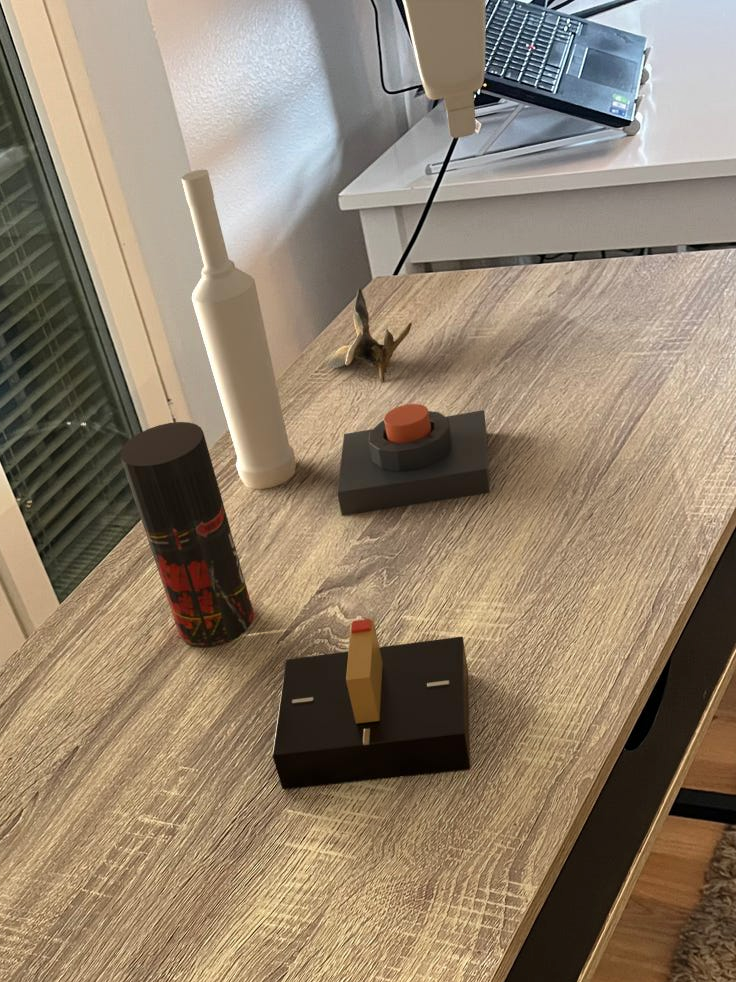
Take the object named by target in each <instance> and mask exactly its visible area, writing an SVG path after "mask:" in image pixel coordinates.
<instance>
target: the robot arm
mask: <svg viewBox="0 0 736 982" xmlns="http://www.w3.org/2000/svg"><path fill="white" fill-rule="evenodd" d="M402 3H403V8H404V12H405V17H406V21H407V26H408V30H409V35H410V39H411V45H412V49H413V53H414V57H415V61H416V65H417V70H418V74H419V77H420V80H421V84H422V87H423V90H424V93H425V95H426V97H427V98H428V99H429V100H431V101H436V100H441V99H443V102H444V106H445V111H446V116H447V122H448V123H447V124H448V125H447V126H448V132H449V135H450V136H451V137H452V138H454V139H459V138H463V137H469V136H471V135H473V134H474V133H475V131H476V128H477V124H476V108H475V98H474V92H475V91H478V90H480V89H481V88H482V86H484V85H483V84H484V81H485V73H486V47H487V46H486V44H487V43H486V32H487V31H486V30H487V29H486V27H487V26H486V23H487V21H486V20H487V19H486V16H487V15H486V14H487V13H486V9H487V8H486V6H487V5H486V0H402Z"/></svg>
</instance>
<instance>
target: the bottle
mask: <svg viewBox="0 0 736 982" xmlns="http://www.w3.org/2000/svg"><path fill="white" fill-rule="evenodd" d="M181 183H182V186H183V190H184V194H185V197H186V202H187V205H188V207H189V209H190V210H189V211H190V215H191V219H192V223H193V226H194V231H195V235H196V239H197V242H198V247H199V250H200V255H201V259H202V263H203V268H201V271H200V272H201V278H200V280H199V281H198V283H197V284H196V286H195V288H194V290H193V291H192V294H191V300H192V304H193V308H194V312H195V315H196V318H197V321H198V325H199V329H200V332H201V336H202V340H203V343H204V345H205V349H206V353H207V357H208V360H209V363H210V366H211V371H212V374H213V378H214V381H215V384H216V388H217V391H218V394H219V398H220V401H221V405H222V408H223V413H224V416H225V419H226V423H227V427H228V431H229V433H230V437H231V440H232V443H233V447H234V451H235V454H236V458H237V459H236V465H235V466H236V470H237V473H238V476H239V477H240V480H241V481H242V483H243V484H244V485H245V487H247V488H249V489H252V490H266V489H270V488H275V487H277V486H279V485H283V484H284V483H286V482H288V481H289V480H290V479H292V477H293V476H294V475H295V473H296V466H297V465H296V463H297V461H296V455H295V449H294V448H293V447H292V446H291V445H290V443H289V437H288V433H287V428H286V423H285V418H284V413H283V409H282V404H281V400H280V395H279V389H278V384H277V380H276V376H275V370H274V365H273V362H272V356H271V351H270V348H269V343H268V338H267V332H266V328H265V322H264V319H263V314H262V309H261V304H260V300H259V295H258V290H257V286H256V281H255V278H254V277H253V276H252V275H250V274H249V273H247V272H245V271H243V270H241V269H239V268H238V267H236V264H235V262H234V261H233V260H231V259H230V258H229V254H228V251H227V247H226V243H225V239H224V234H223V230H222V227H221V223H220V218H219V214H218V210H217V206H216V202H215V195H214V191H213V187H212V183H211V178H210V175H209V171H208V170H207V169H197V170H193V171H189V172H187V173H186V174H184V175H182V176H181Z"/></svg>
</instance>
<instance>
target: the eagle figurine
mask: <svg viewBox="0 0 736 982" xmlns="http://www.w3.org/2000/svg"><path fill="white" fill-rule="evenodd" d="M369 322H370V313H369V311H368V308H367V304H366V299H365V297H364V293H363V291H362V289H361V288H358V289H357V292H356V296H355V300H354V304H353V323H354V324H353V325H354V329H355V332H356V338H355V339H354V341H353V343H352V344H345V345H343V346H341V347H339V348H338V349H337V350H336V351H335V353H333V355H332V356H331V357H330V359H329V360H328V362H327V363H326V365H325V368H328V367H333V368H335V369H338V368H342V367H343V366H345V365H346V366H349V365H350V364H351V363H352V362H353V360H354V358H356V359H359V360H362V361H364V363H366V364H367V365H369V366H371V367H372V368H375V369H378V375H379V378H380V382H381V383H382V384H383V383H384V382H385V378H386V374H387V372H388V368H389V363H390V362H391V359H392V357H393V355H394V352H395V351H396V350H397V348H398V347H399V346H400V344H401V343H402V342H403V341H404V340H405V338H406V337H407V336H408V335H409V333H410V331H411V328H412V326H413V324H412V322H408V324H407V325H406V327H405V328H404V330H402V331H401V333H400V334H399V335H398V337H397V338H396V339H394V336H393V334H392V333H391V332H390V331H389V329H388V328H386V329H385V334H384V338H383V344H380V343H379V342H378V341H377V340H376V339H374V338H373V336H372V335H371V332H370V324H369ZM394 340H395V341H394Z"/></svg>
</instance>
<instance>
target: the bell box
mask: <svg viewBox="0 0 736 982" xmlns="http://www.w3.org/2000/svg"><path fill="white" fill-rule="evenodd" d="M428 411H429V418H430V425H431V433H430V434H429V435H428V436H426V437H424V438H422V439H419V440H417V441H414V442H408V443H402V444H399V443H390V442H389V441H388V439H387V434H386V428H385V422H384V419H383V420H381V421H380V422H379V423H377V424H376V425H375V427H374V428H371V429H365V430H359V431H354V432H348V433H344V434H343V438H342V447H341V455H340V464H339V472H338V481H337V488H336V489H337V490H336V494H337V500H338V504H339V509H340V513H341V516H342V517H346V516H351V515H356V514H357V515H358V514H364V513H369V512H376V511H383V510H388V509H396V508H402V507H408V506H409V507H410V506H414V505H421V504H422V505H423V504H428V503H434V502H440V501H447V500H452V499H460V498H466V497H472V496H478V495H484V494H489V493H490V492H491V491H490V490H491V489H490V473H489V472H490V471H489V469H490V467H489V449H488V448H489V447H488V430H487V423H486V422H487V421H486V413H485V410H484V409H482V410H477V411H476V410H475V411H470V412H465V413H458V414H453V415H447V416H446V415H444V414H442V413H440V412H439V411H432V410H428Z"/></svg>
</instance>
